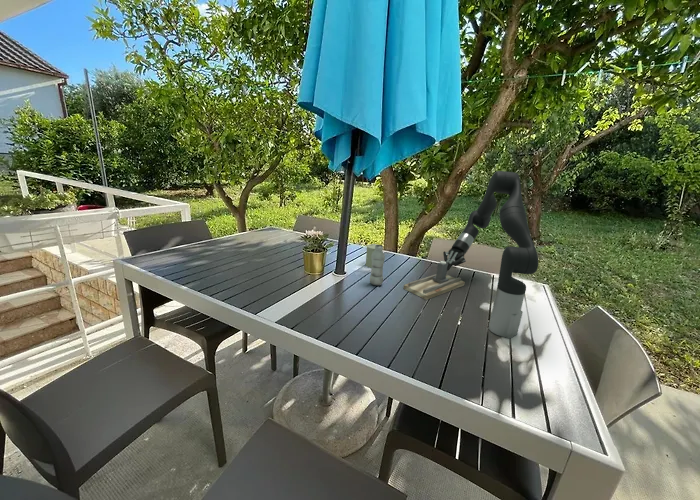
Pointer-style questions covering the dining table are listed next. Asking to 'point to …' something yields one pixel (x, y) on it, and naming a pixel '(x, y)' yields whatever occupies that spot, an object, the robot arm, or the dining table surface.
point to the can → (369, 254)
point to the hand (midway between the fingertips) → (445, 270)
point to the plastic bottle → (377, 265)
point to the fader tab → (441, 272)
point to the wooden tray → (432, 286)
